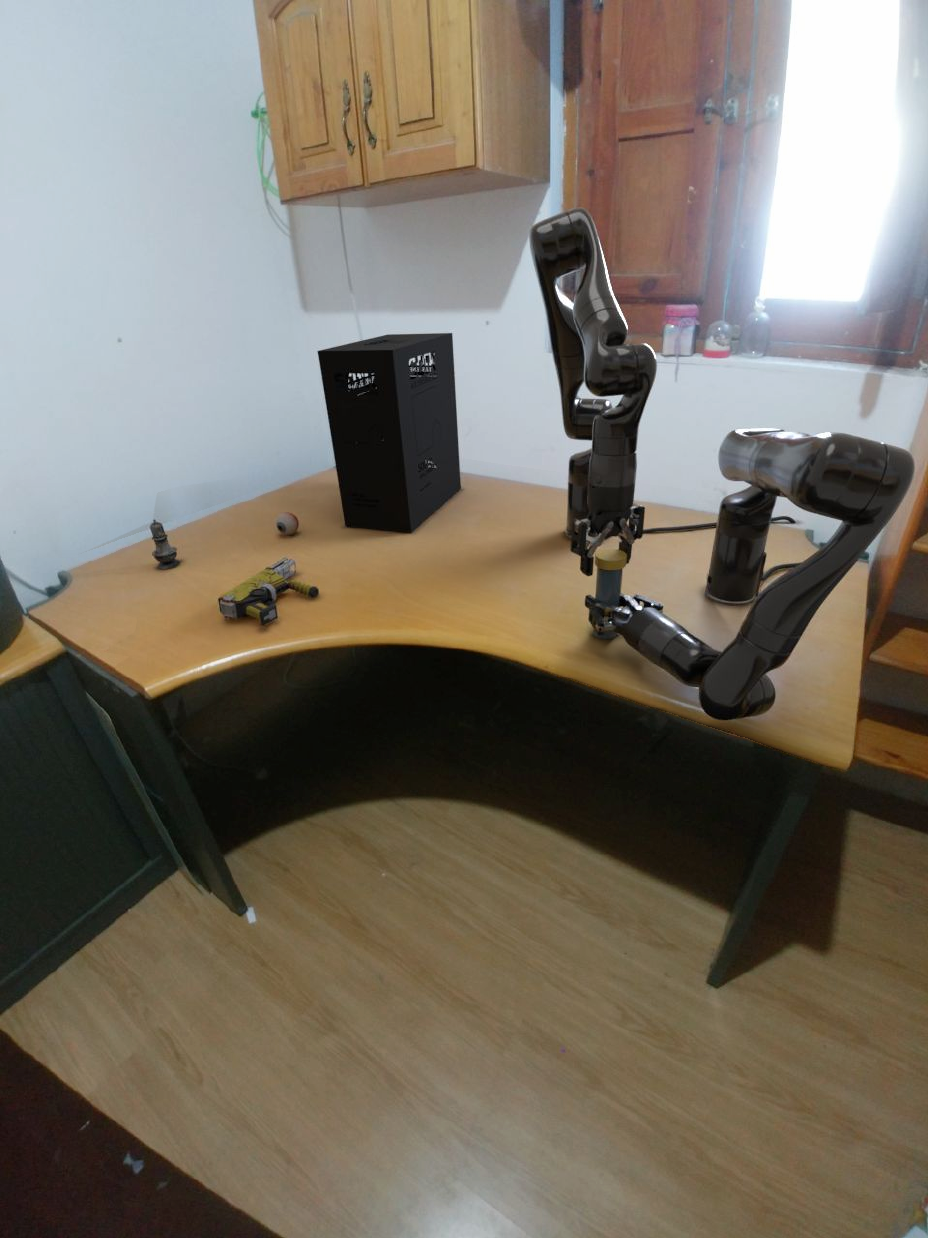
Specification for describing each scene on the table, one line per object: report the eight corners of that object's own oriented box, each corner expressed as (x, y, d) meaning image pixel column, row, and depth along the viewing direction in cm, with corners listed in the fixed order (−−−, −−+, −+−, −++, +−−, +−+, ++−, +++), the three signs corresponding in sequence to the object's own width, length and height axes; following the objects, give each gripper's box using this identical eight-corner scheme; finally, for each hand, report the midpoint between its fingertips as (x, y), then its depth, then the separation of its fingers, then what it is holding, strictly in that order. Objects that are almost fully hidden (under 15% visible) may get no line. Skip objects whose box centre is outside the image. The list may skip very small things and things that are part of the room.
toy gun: (338, 566, 137) (282, 554, 141) (276, 612, 117) (212, 597, 121) (339, 585, 140) (283, 573, 144) (278, 633, 120) (216, 618, 124)
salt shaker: (171, 569, 148) (156, 523, 142) (150, 569, 149) (135, 523, 143) (185, 560, 153) (172, 515, 147) (165, 559, 154) (151, 514, 148)
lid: (629, 569, 104) (630, 559, 103) (598, 571, 104) (599, 561, 103) (621, 556, 108) (622, 547, 107) (591, 558, 108) (592, 549, 107)
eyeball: (273, 537, 164) (268, 516, 161) (287, 528, 169) (282, 508, 166) (291, 539, 161) (286, 518, 158) (305, 530, 166) (301, 510, 163)
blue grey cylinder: (595, 639, 111) (600, 563, 103) (590, 627, 115) (595, 552, 107) (619, 638, 111) (626, 562, 103) (614, 626, 115) (620, 551, 107)
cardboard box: (403, 484, 198) (387, 334, 176) (460, 488, 192) (452, 332, 169) (345, 526, 168) (317, 350, 145) (411, 532, 161) (392, 349, 139)
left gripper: (629, 464, 104) (622, 551, 112) (562, 480, 98) (559, 571, 107) (661, 475, 98) (651, 566, 106) (592, 492, 93) (586, 587, 101)
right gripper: (697, 608, 99) (631, 569, 112) (624, 630, 94) (566, 586, 108) (690, 647, 102) (628, 604, 116) (621, 669, 98) (564, 622, 112)
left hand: (605, 568), depth 106 cm, fingers open, 7 cm apart
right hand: (598, 596), depth 112 cm, fingers closed on blue grey cylinder, 4 cm apart
